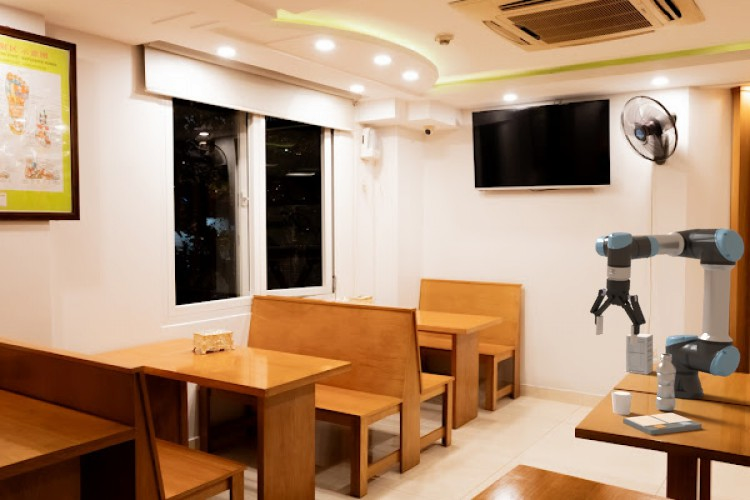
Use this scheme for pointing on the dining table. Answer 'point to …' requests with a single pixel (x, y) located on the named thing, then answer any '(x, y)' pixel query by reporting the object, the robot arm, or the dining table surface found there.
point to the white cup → (621, 402)
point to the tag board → (662, 423)
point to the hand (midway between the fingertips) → (616, 338)
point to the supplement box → (639, 354)
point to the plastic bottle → (665, 383)
